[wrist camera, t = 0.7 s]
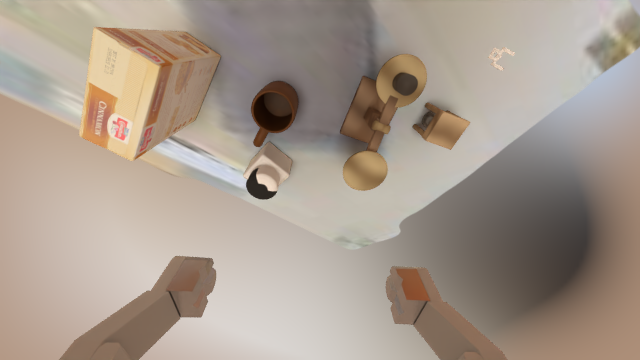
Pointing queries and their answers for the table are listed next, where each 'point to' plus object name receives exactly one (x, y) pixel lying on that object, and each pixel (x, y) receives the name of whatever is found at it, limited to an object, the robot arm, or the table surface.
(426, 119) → the grey domed cylinder
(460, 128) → the tan peg block
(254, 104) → the mug
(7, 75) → the table surface
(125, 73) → the coffeecake box
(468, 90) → the table surface
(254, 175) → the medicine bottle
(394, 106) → the balance
